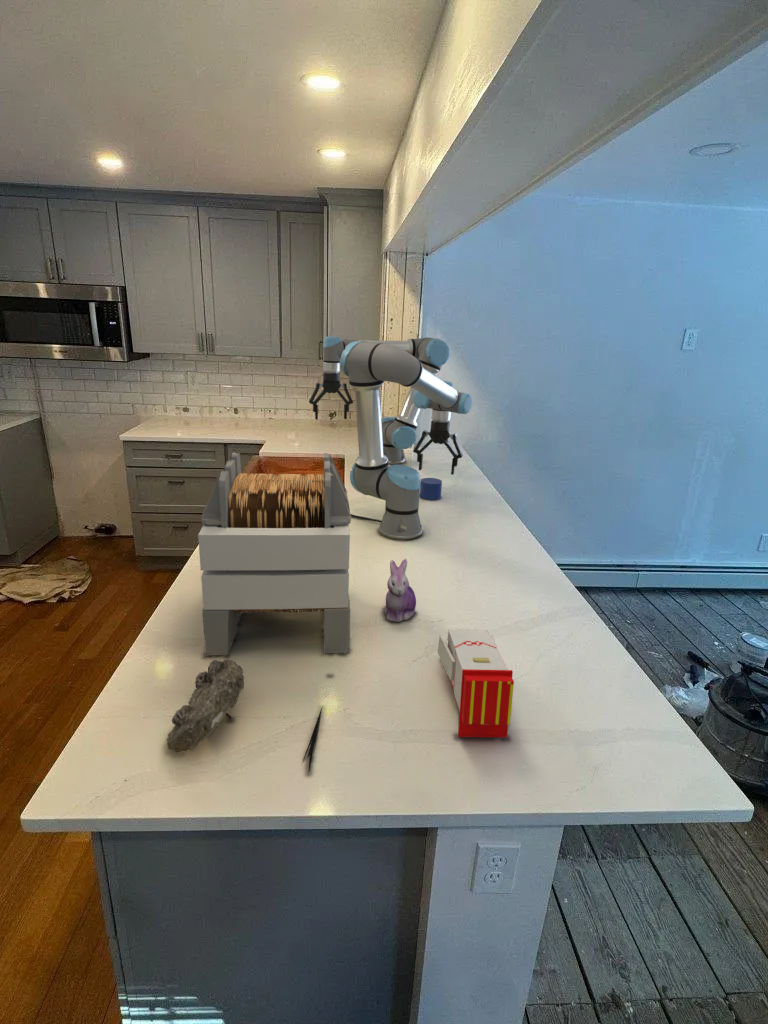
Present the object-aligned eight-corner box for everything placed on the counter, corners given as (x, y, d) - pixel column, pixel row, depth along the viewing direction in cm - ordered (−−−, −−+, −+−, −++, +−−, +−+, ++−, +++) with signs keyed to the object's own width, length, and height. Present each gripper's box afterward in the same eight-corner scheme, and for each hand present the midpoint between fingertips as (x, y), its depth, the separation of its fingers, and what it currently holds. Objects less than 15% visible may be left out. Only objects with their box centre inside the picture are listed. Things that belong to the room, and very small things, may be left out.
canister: (429, 501, 235) (430, 485, 233) (415, 495, 242) (416, 479, 239) (445, 498, 240) (446, 482, 238) (431, 492, 247) (432, 476, 244)
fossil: (192, 660, 117) (244, 628, 112) (224, 691, 120) (276, 661, 115) (142, 746, 98) (202, 712, 93) (182, 779, 101) (242, 748, 96)
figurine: (392, 627, 141) (395, 572, 136) (374, 608, 149) (376, 556, 144) (425, 619, 145) (429, 566, 140) (405, 601, 154) (408, 550, 149)
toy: (488, 613, 130) (523, 677, 101) (484, 667, 133) (517, 744, 104) (435, 612, 130) (455, 676, 101) (432, 666, 133) (451, 743, 103)
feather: (331, 679, 122) (336, 673, 122) (307, 777, 96) (313, 769, 95) (324, 675, 122) (329, 669, 121) (298, 772, 95) (304, 764, 95)
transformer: (226, 586, 157) (217, 442, 143) (344, 585, 161) (346, 445, 147) (202, 658, 125) (189, 482, 112) (350, 654, 129) (354, 483, 115)
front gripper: (473, 422, 227) (467, 473, 234) (412, 416, 234) (409, 465, 241) (470, 425, 220) (464, 477, 227) (408, 418, 227) (404, 470, 234)
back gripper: (305, 372, 250) (305, 420, 257) (360, 373, 256) (358, 420, 264) (302, 370, 256) (302, 417, 263) (356, 371, 263) (355, 417, 270)
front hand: (436, 471), depth 234 cm, fingers open, 13 cm apart
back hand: (330, 418), depth 264 cm, fingers open, 13 cm apart
